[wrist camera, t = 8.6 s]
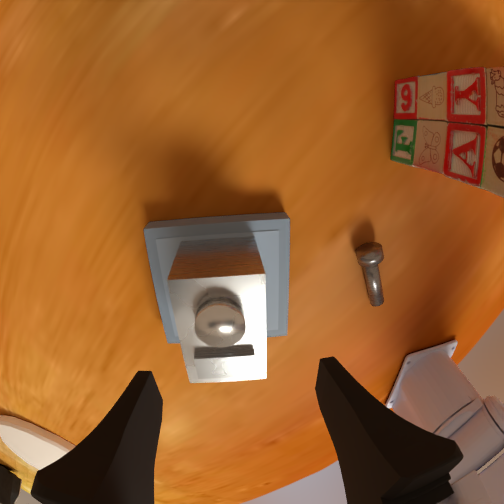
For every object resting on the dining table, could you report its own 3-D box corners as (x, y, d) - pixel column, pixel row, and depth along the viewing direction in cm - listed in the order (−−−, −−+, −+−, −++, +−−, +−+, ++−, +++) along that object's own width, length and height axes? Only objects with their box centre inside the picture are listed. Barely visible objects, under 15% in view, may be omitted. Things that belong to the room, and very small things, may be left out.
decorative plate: (1, 455, 29) (-17, 410, 22) (6, 442, 32) (-7, 392, 25) (104, 505, 36) (129, 486, 29) (106, 491, 40) (132, 465, 33)
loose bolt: (384, 292, 22) (395, 305, 21) (363, 302, 23) (373, 316, 21) (374, 239, 20) (387, 249, 19) (351, 249, 20) (362, 260, 19)
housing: (257, 327, 20) (268, 388, 15) (195, 332, 20) (189, 393, 15) (254, 236, 18) (267, 282, 12) (181, 241, 17) (164, 288, 12)
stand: (283, 323, 22) (287, 335, 21) (170, 331, 22) (167, 343, 20) (285, 212, 19) (290, 218, 18) (149, 221, 18) (143, 229, 17)
